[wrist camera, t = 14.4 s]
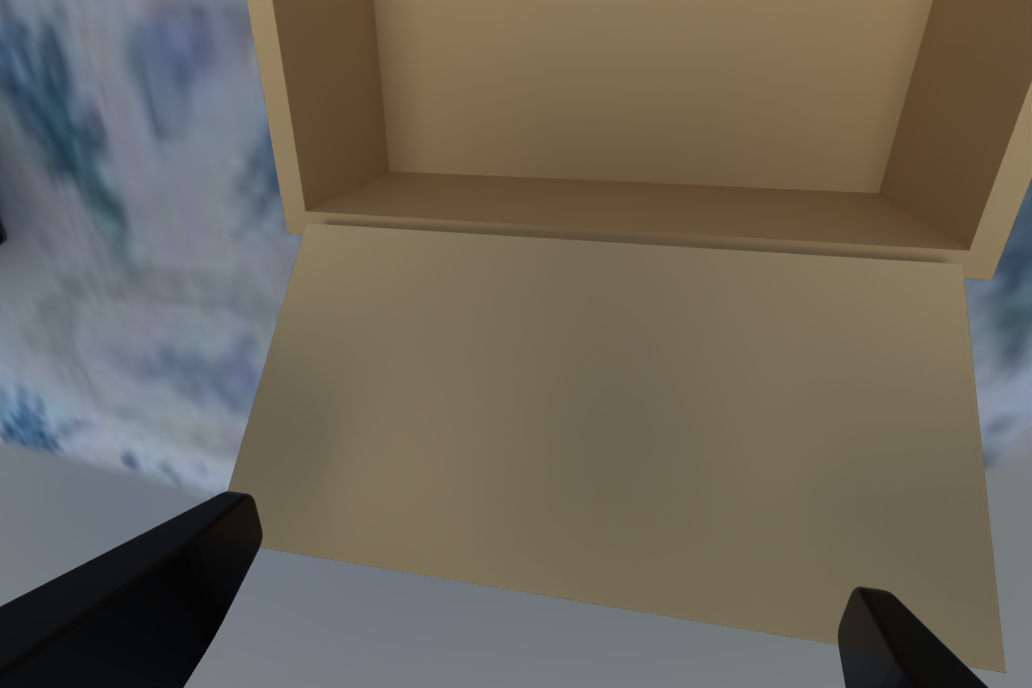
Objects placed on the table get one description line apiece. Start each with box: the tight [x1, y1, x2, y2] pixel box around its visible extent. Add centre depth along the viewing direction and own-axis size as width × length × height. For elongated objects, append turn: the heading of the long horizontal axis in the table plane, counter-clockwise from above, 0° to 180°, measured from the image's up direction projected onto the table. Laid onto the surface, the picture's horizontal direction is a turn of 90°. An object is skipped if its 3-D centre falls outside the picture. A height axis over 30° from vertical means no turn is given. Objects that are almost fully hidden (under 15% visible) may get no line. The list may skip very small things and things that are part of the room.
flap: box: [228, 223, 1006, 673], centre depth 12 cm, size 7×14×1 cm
